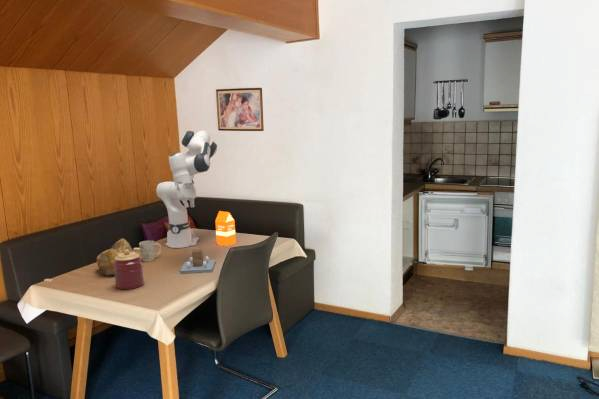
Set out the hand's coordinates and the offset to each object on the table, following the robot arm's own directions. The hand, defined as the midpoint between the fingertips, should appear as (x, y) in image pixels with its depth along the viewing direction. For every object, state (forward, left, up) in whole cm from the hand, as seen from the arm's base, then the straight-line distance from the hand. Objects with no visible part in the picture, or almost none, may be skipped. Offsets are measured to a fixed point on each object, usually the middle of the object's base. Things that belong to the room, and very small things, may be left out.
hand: (190, 207), depth 267 cm
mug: (-6, -27, -31) cm, 41 cm away
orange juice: (-37, +7, -31) cm, 49 cm away
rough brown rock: (+13, -40, -31) cm, 52 cm away
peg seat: (+9, +5, -30) cm, 32 cm away
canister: (+35, -20, -31) cm, 50 cm away
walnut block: (+9, +5, -29) cm, 31 cm away
